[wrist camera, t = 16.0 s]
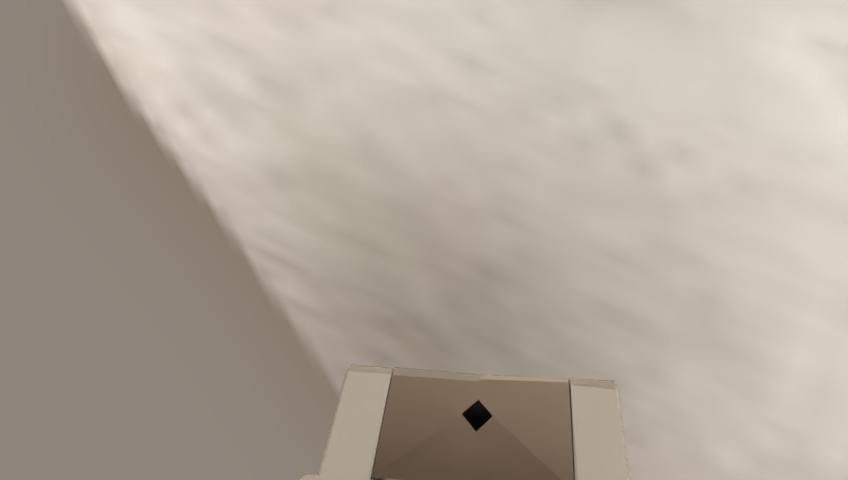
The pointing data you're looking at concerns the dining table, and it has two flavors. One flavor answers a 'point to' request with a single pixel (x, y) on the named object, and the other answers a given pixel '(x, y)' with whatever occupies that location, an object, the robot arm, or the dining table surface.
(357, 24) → the dining table surface
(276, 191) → the dining table surface
